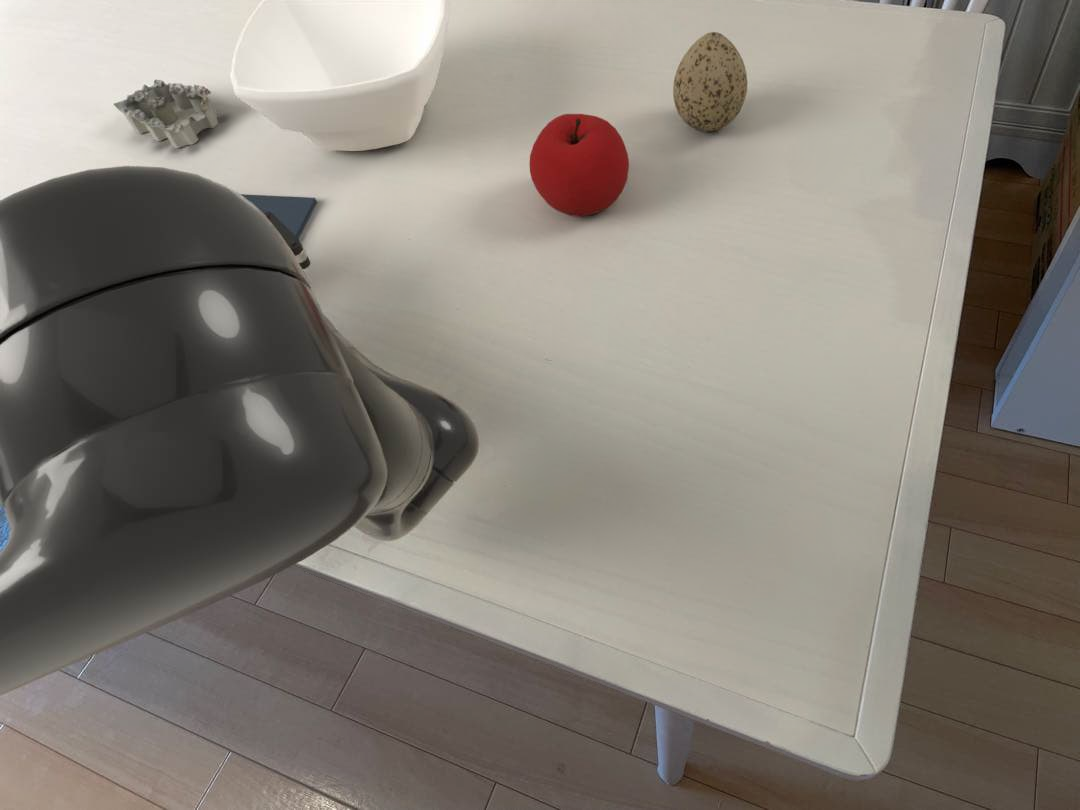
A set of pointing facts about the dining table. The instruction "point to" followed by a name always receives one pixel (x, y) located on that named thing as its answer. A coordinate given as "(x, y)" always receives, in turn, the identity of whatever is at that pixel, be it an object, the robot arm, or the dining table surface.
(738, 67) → the decorative egg
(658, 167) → the dining table surface
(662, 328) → the dining table surface
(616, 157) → the apple
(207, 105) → the grey jagged stone ring
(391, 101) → the bowl
